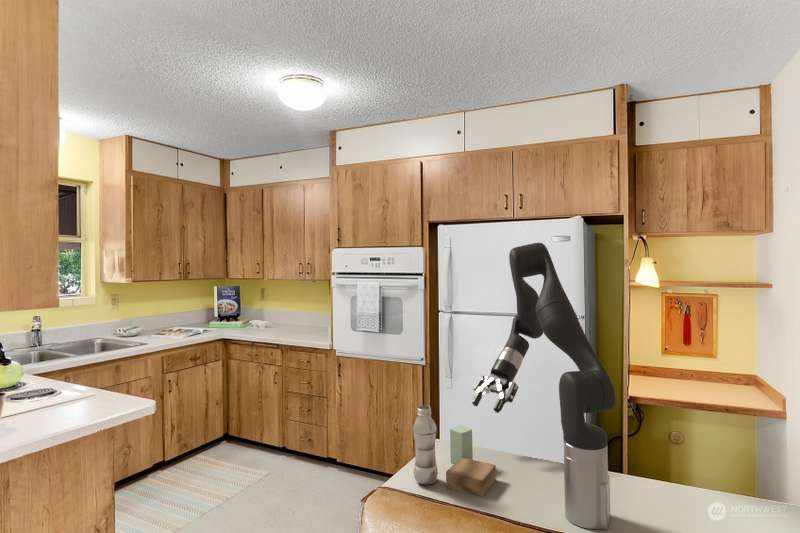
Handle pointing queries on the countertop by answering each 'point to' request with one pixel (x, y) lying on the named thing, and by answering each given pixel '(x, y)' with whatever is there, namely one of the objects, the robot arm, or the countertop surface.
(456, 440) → the block
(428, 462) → the plastic bottle
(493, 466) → the base
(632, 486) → the countertop surface
